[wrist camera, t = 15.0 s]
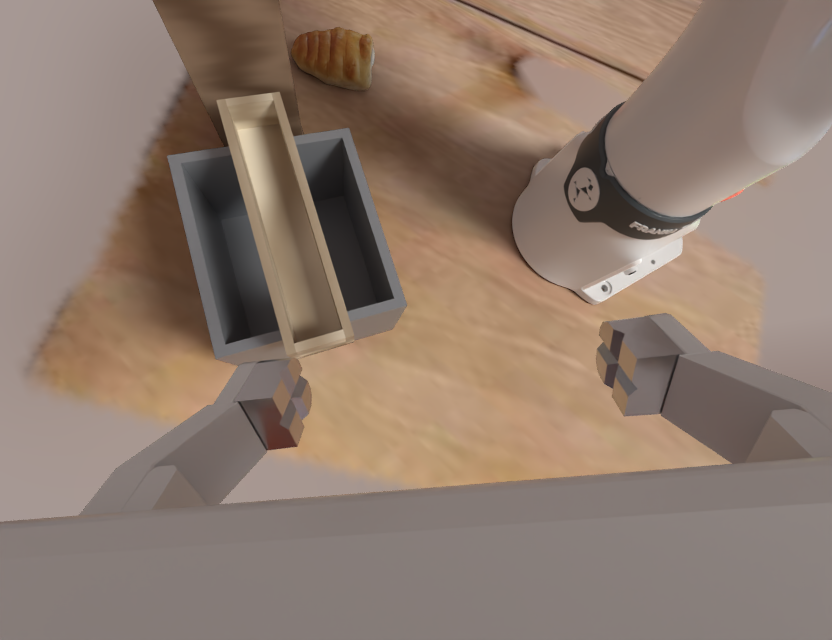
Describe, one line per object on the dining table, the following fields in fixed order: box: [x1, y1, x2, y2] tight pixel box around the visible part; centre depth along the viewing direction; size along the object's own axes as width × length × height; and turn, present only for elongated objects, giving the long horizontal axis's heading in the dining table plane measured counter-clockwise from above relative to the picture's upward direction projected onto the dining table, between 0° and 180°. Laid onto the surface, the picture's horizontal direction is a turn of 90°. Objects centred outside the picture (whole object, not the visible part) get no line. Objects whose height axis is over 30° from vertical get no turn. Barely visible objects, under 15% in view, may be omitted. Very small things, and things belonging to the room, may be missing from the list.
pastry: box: [291, 27, 375, 91], centre depth 42 cm, size 9×7×4 cm
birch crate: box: [216, 92, 354, 359], centre depth 26 cm, size 4×19×3 cm, turn 18°
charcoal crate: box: [167, 128, 407, 366], centre depth 33 cm, size 14×16×10 cm
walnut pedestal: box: [153, 0, 304, 147], centre depth 27 cm, size 8×14×26 cm, turn 18°
